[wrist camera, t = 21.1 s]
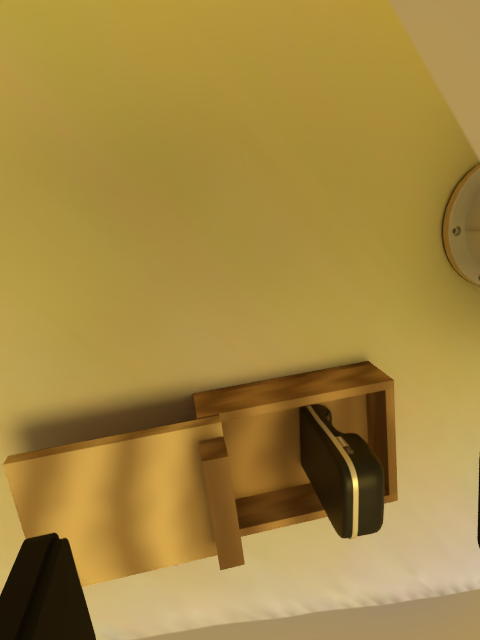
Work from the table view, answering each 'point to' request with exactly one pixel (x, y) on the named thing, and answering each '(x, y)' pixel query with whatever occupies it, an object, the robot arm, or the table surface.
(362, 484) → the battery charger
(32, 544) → the robot arm
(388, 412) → the brown shallow rectangular box
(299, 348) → the table surface
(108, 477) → the lid
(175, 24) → the table surface
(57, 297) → the table surface
